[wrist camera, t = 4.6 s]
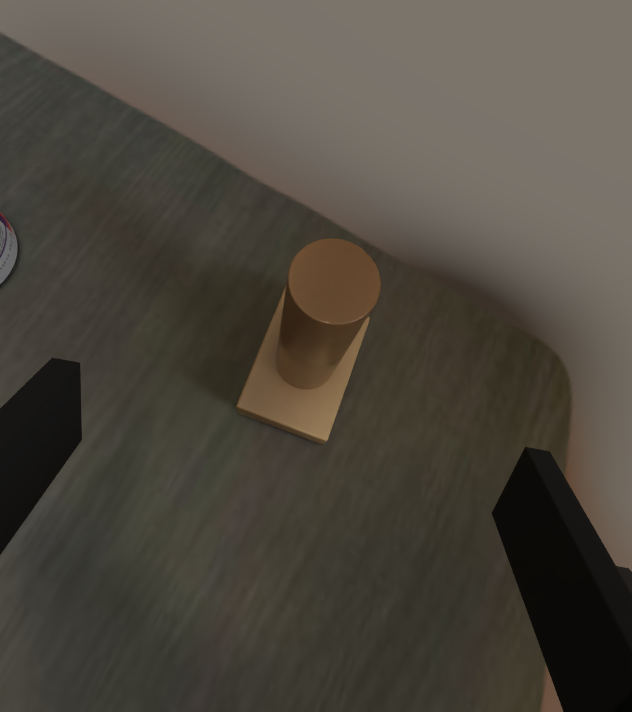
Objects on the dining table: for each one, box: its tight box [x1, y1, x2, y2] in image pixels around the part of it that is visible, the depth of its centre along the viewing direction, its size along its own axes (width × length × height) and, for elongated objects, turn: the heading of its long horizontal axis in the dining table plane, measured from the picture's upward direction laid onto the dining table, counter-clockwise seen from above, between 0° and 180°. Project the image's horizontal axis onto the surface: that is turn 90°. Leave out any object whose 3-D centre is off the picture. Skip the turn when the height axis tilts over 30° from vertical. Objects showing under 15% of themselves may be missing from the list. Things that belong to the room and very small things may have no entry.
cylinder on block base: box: [236, 238, 381, 444], centre depth 21 cm, size 4×6×11 cm
